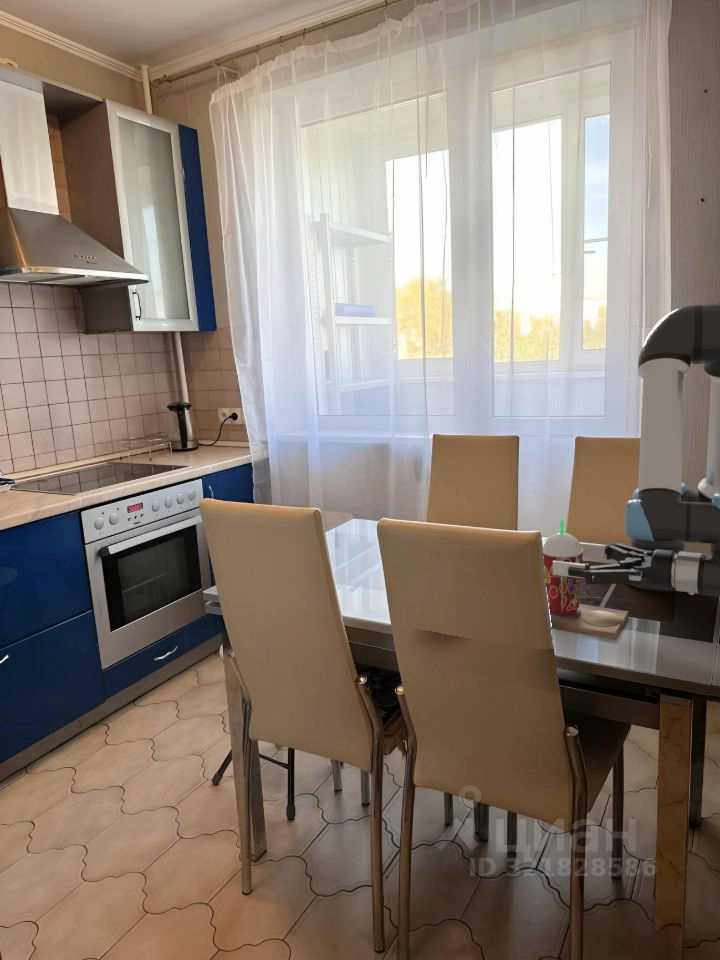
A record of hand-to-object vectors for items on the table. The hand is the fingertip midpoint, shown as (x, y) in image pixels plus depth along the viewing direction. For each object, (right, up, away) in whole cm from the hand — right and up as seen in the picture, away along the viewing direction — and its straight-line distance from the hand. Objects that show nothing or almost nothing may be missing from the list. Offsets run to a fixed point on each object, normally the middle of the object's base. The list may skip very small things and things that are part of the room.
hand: (563, 557), depth 139 cm
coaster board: (+4, -13, +1) cm, 14 cm away
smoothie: (+1, -12, +3) cm, 12 cm away
